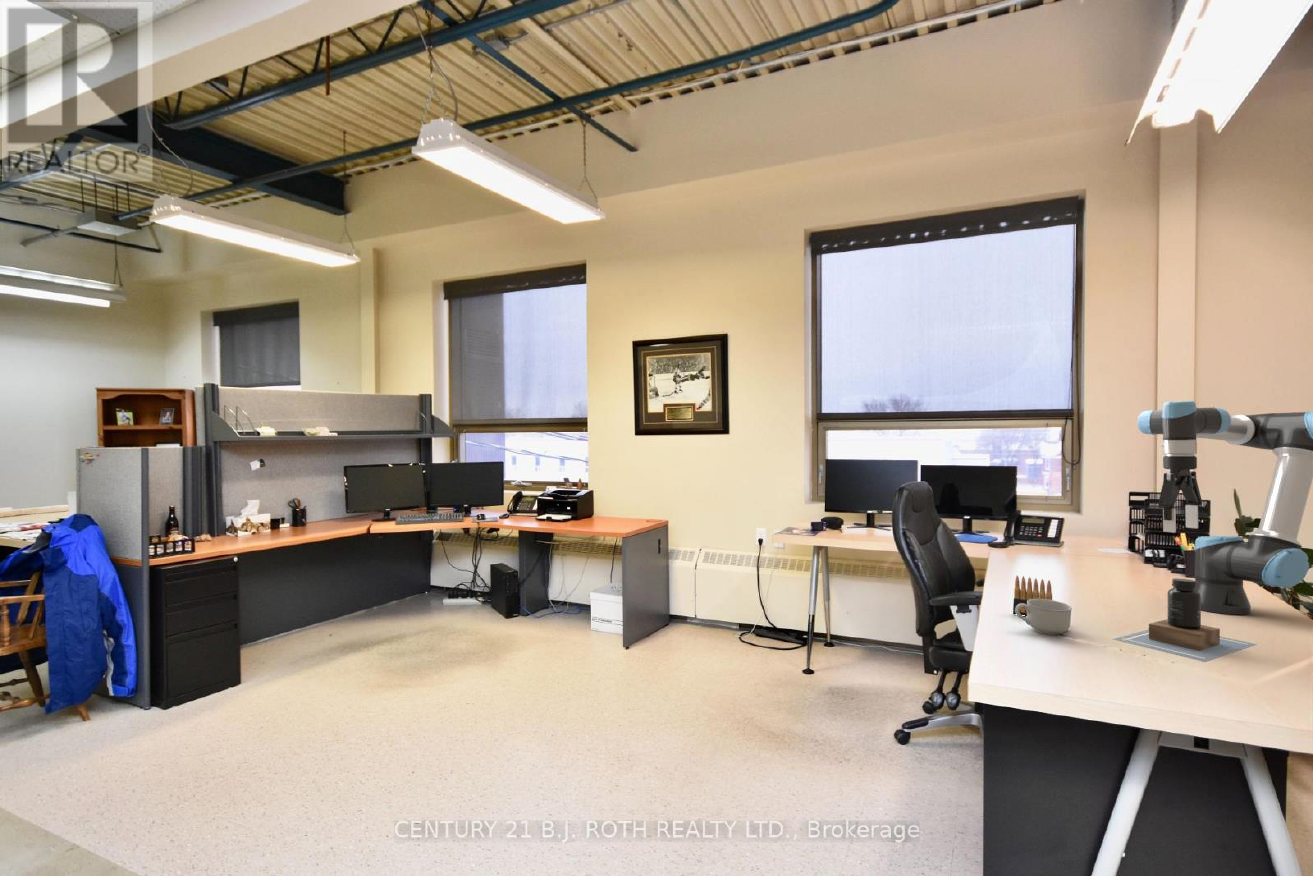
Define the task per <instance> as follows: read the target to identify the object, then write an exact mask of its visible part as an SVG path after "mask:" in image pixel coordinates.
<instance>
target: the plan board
mask: <svg viewBox="0 0 1313 876" xmlns="http://www.w3.org/2000/svg"><path fill="white" fill-rule="evenodd" d="M1112 640H1115V641H1119V642H1122V643H1127V644H1131V645H1133V646H1139V647H1143V648H1146V649H1151V650H1154V651H1155V650H1156V651H1160V652H1163V653H1167V654H1171V655H1175V656H1179V657H1183V658H1188V659H1192V660H1196V661H1200V662H1203V663H1206V662H1209V661H1212V660H1215V659H1219V658H1220V657H1223V656H1227V655H1230V654H1233V653H1236V652H1238V651H1242V650H1244V649H1247V648H1250V647H1253V646H1256V645H1257V643H1253V642H1248V641H1245V640H1244V641H1243V640H1239V639H1234V638H1229V637H1224V636H1220V644H1219V645H1216V646H1213V647H1210V648H1207V649H1204V650H1200V651H1198V650H1193V649H1189V648H1185V647H1181V646H1176V645H1172V644H1168V643H1164V642H1159V641H1155V640H1151V639H1149V629H1146V630H1142V631H1139V632H1138V631H1137V632H1134V633H1131V634H1127V635H1123V636H1118V637H1117V638H1112Z"/></svg>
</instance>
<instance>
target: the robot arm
mask: <svg viewBox="0 0 1313 876" xmlns="http://www.w3.org/2000/svg"><path fill="white" fill-rule="evenodd" d="M1136 424H1137V428H1138V429H1139V431H1140V432H1141V433H1142V434H1144V435H1145V434H1146V435H1162V443H1161V447H1162V450H1163V451H1162V453H1163V455H1164V456H1163V458H1162V462H1163V463H1162V468H1163V469H1165V470H1169V472H1164V473H1163V479H1162V480H1163V482H1162V485H1161V490H1160V494H1159V499H1158V502H1157V503H1158V508H1159V509H1162V519H1163V520H1162V530H1163V531H1162V532H1165V533H1173V534H1175V533H1176V532H1177V526H1176V525H1177V523H1176V521H1177V520H1176V515H1177V514H1176V513H1177V511H1176V508H1175V505H1176V503H1177V502H1176V501H1177V500H1178V497H1179V493H1180V491H1181V493H1182V494H1183V497H1184V500H1185V501H1186V504H1185V528H1189V529H1199V506H1202V505H1203V500H1202V496H1201V492H1200V487H1199V484H1198V480H1197V472H1196V471H1192V470H1195V469H1196V470H1197V468H1198V457H1197V454H1198V447H1197V446H1198V443H1197V441H1198V440H1197V439H1208V440H1216V441H1225V442H1226V443H1228V444H1230V445H1235V446H1236V445H1237V446H1240V447H1241V446H1243V447H1249V448H1254V449H1260V450H1267V451H1269V450H1270V451H1272V453H1273V454H1274V455H1275V457H1277V458H1276V462H1275V466H1274V469H1273V474H1272V477H1271V481H1270V484H1269V489H1268V491H1267V496H1266V500H1265V503H1264V507H1263V509H1262V510H1263V511H1262V514H1261V518H1260V522H1259V525H1258V530H1257V531H1256V532H1253V533H1250V534H1249V537H1248V539H1247V541H1246V542H1245V539H1244V538H1243V536H1238V535H1237V536H1235V535H1212V536H1211V535H1210V536H1209V535H1208V536H1205V535H1204V536H1199V537H1197V538H1196V539H1195V541H1194V543H1195V544H1194V549H1193V551H1194V581H1196V589H1195V591H1197V592H1198V593H1199V594H1200V595H1201V611H1205V612H1210V613H1216V614H1225V615H1238V614H1239V616H1240V615H1241V616H1242V615H1250V614H1251V613H1252V609H1251V608H1252V607H1251V603H1250V601H1249V598H1248V595H1247V593H1246V590H1245V588H1244V581H1245V582H1251V583H1254V584H1255V583H1257V584H1261V585H1262V584H1263V585H1267V586H1270V587H1278V588H1292V587H1294V586H1296V585H1298V584H1300V583H1301V582H1303V580H1304V579H1305V578H1306V576H1307V574H1308V571H1309V568H1310V562H1309V556H1308V554H1307V553H1306V552H1304V550H1302V548H1303V545H1302V544H1301V543H1300V542H1299V541H1298V536H1299V533H1300V532H1299V531H1300V529H1301V528H1300V527H1301V523H1302V520H1303V517H1304V512H1305V510H1306V505H1307V501H1308V498H1309V493H1310V491H1311V490H1310V489H1311V485H1312V482H1313V411H1308V410H1307V411H1301V412H1300V411H1299V412H1270V413H1269V412H1268V413H1258V414H1246V415H1245V414H1234V415H1232V416H1231V415H1230V413H1229V412H1228V411H1227V410H1226V409H1224V408H1220V407H1215V406H1212V407H1197V404H1196V402H1195V401H1194V400H1174V401H1170V400H1169V401H1166V402H1164V403H1163V404H1162V409H1151V410H1144V411H1142V412H1141V413H1140V414H1139V415H1138V417H1137V423H1136Z"/></svg>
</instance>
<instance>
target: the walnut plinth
mask: <svg viewBox="0 0 1313 876" xmlns="http://www.w3.org/2000/svg"><path fill="white" fill-rule="evenodd" d="M1148 630H1149V639H1151V640H1155V641H1159V642H1164V643H1168V644H1172V645H1176V646H1181V647H1185V648H1189V649H1193V650H1198V651H1200V650H1204V649H1207V648H1210V647H1213V646H1216V645H1219V644H1220V637H1221V632H1220V631H1221V629H1220V628H1218V627H1213V626H1209V625H1203V624H1201V627H1200V628H1199V629H1185V628H1179V627H1175V626H1171V625H1169V624H1168V618H1166V619H1162V620H1159V621H1154V622H1151V623H1148Z"/></svg>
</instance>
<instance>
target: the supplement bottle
mask: <svg viewBox="0 0 1313 876" xmlns="http://www.w3.org/2000/svg"><path fill="white" fill-rule="evenodd" d="M1171 580H1172V582H1171V586H1172V587H1173V588H1170V589H1168V591H1167V600H1166V601H1167V607H1166V608H1167V611H1166V612H1167V618H1166V619H1168V624H1169V625H1171V626H1175V627H1179V628H1185V629H1199V628H1200V627H1201V625H1202V610H1201V595H1200V594H1199V593H1198V592H1197V591H1195V589H1196V581H1195V579H1194V580H1193V579H1187V578H1178V577H1177V578H1175V577H1174V578H1172V579H1171Z"/></svg>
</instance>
